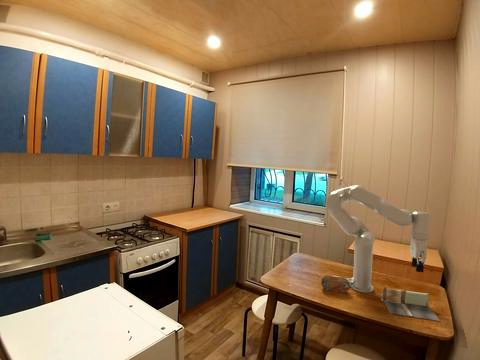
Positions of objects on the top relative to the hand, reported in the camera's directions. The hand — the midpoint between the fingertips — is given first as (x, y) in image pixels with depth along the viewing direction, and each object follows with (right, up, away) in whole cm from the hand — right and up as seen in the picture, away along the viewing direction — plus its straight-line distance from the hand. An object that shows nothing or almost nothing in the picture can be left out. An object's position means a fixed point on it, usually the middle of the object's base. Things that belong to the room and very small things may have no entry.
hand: (417, 268), depth 140 cm
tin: (-39, -16, +12) cm, 44 cm away
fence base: (-8, -18, -4) cm, 20 cm away
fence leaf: (-2, -17, -3) cm, 17 cm away
